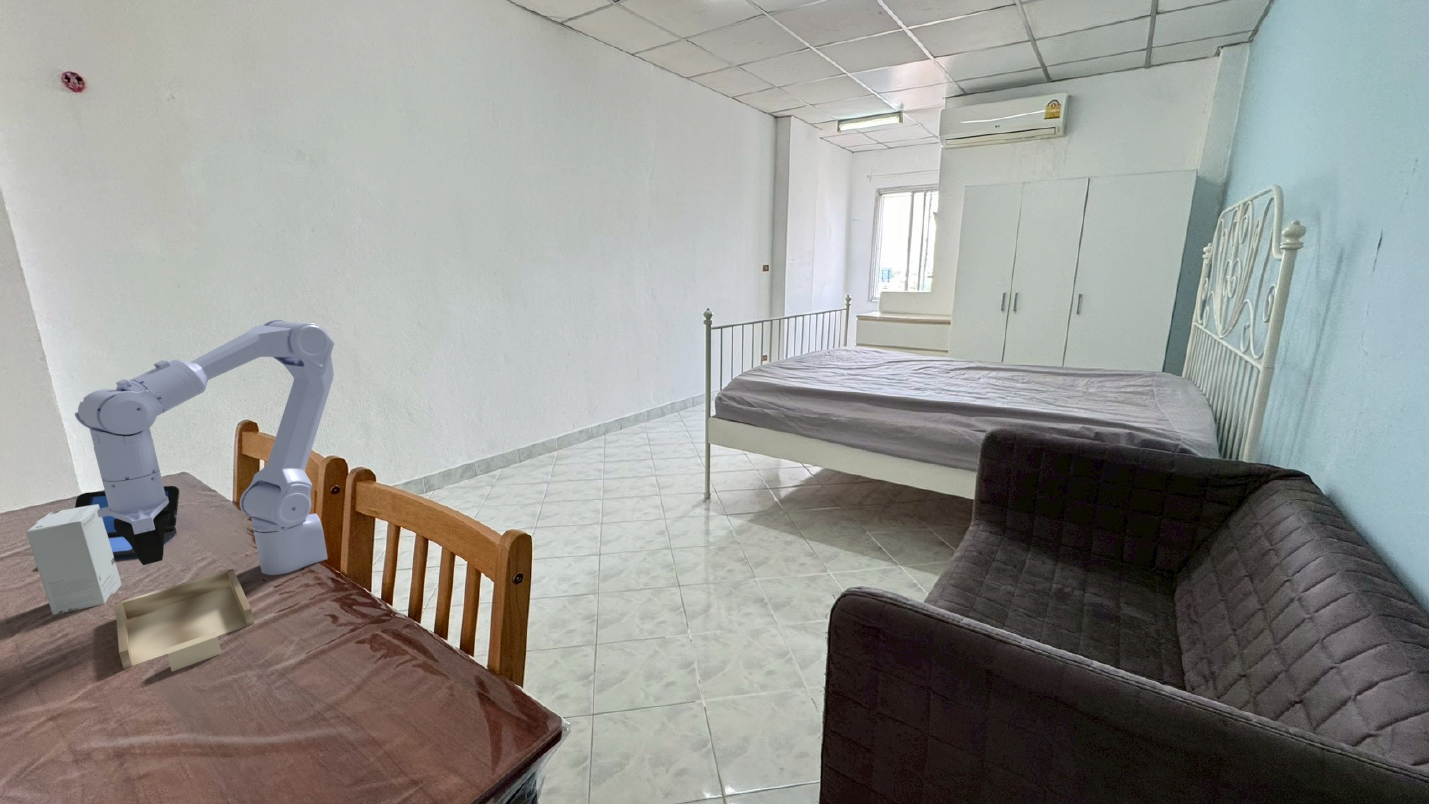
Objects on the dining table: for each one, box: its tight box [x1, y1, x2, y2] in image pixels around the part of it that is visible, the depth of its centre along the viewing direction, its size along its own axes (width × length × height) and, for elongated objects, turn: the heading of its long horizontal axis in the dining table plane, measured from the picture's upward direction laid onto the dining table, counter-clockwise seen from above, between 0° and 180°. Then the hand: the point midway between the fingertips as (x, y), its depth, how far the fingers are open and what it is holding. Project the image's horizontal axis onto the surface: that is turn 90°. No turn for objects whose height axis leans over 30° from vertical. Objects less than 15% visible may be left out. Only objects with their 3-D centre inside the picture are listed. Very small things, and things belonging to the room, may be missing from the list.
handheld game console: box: [74, 485, 180, 561], centre depth 106 cm, size 16×13×9 cm
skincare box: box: [25, 504, 122, 616], centre depth 88 cm, size 8×6×15 cm
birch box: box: [114, 568, 255, 670], centre depth 84 cm, size 14×16×4 cm
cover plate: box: [166, 632, 222, 673], centre depth 74 cm, size 10×8×4 cm
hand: (152, 561), depth 82 cm, fingers closed
